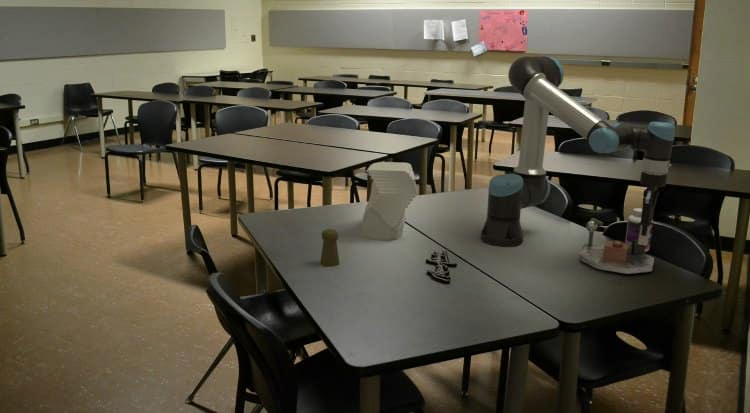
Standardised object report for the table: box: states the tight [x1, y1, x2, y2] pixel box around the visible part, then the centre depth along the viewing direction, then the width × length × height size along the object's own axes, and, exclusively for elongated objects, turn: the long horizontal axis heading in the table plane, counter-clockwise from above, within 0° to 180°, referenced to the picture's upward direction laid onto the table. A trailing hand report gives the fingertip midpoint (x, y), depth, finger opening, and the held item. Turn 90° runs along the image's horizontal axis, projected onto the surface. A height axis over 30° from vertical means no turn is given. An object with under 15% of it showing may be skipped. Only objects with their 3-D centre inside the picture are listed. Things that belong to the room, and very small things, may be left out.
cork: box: [319, 228, 340, 268], centre depth 198 cm, size 6×6×11 cm
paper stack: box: [362, 161, 419, 241], centre depth 229 cm, size 21×27×26 cm
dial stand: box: [581, 217, 604, 250], centre depth 217 cm, size 6×6×11 cm
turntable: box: [578, 239, 655, 275], centre depth 204 cm, size 22×22×7 cm
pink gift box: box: [603, 240, 631, 262], centre depth 204 cm, size 7×7×5 cm
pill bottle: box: [624, 207, 654, 253], centre depth 219 cm, size 8×8×14 cm
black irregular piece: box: [425, 250, 458, 285], centre depth 197 cm, size 27×2×10 cm
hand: (642, 244), depth 202 cm, fingers closed
